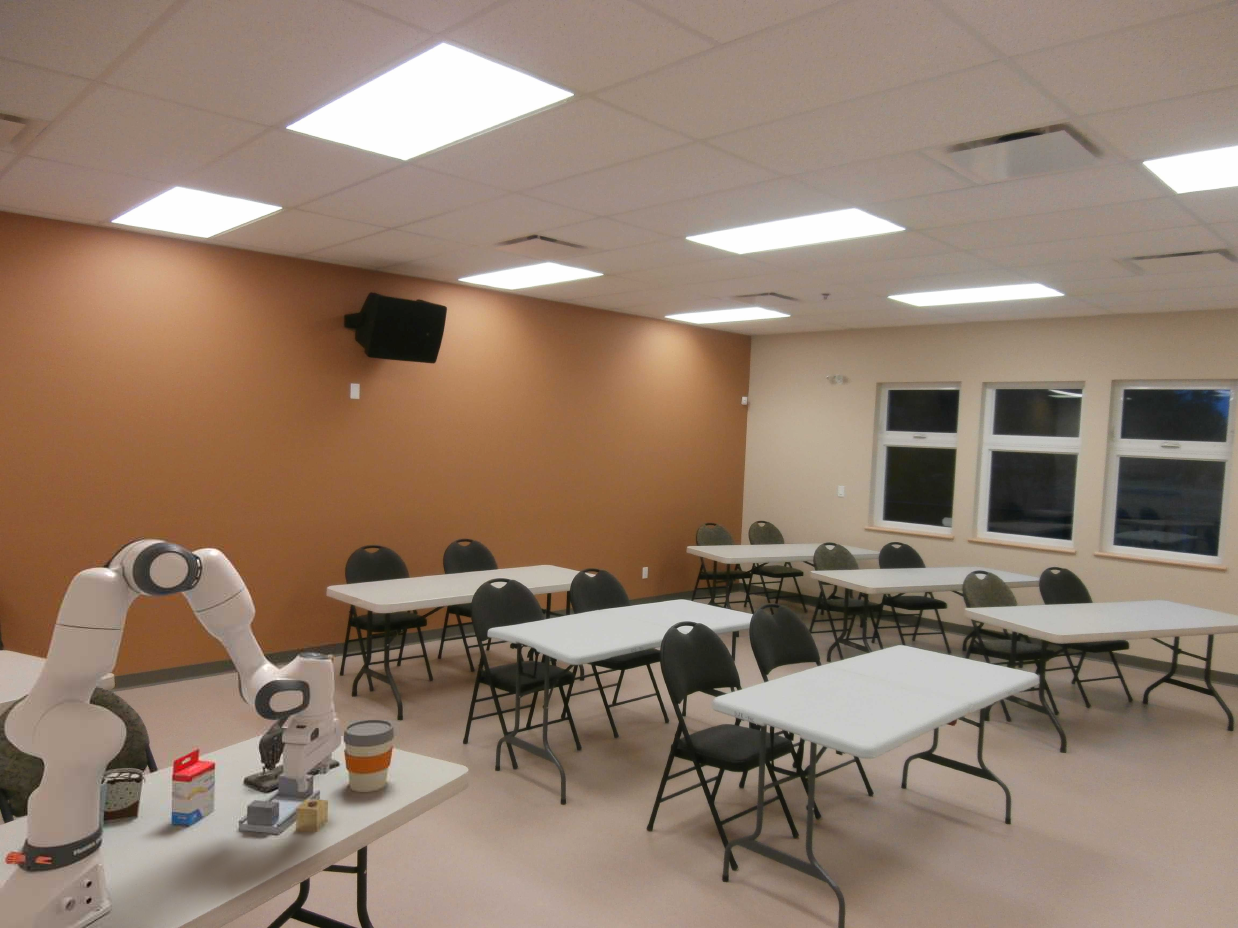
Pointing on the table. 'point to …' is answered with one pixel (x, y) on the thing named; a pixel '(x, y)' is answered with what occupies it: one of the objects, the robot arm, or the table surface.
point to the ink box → (192, 789)
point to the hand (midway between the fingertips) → (314, 781)
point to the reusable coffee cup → (368, 753)
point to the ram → (263, 812)
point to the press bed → (284, 805)
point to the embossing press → (275, 757)
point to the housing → (312, 815)
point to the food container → (122, 794)
